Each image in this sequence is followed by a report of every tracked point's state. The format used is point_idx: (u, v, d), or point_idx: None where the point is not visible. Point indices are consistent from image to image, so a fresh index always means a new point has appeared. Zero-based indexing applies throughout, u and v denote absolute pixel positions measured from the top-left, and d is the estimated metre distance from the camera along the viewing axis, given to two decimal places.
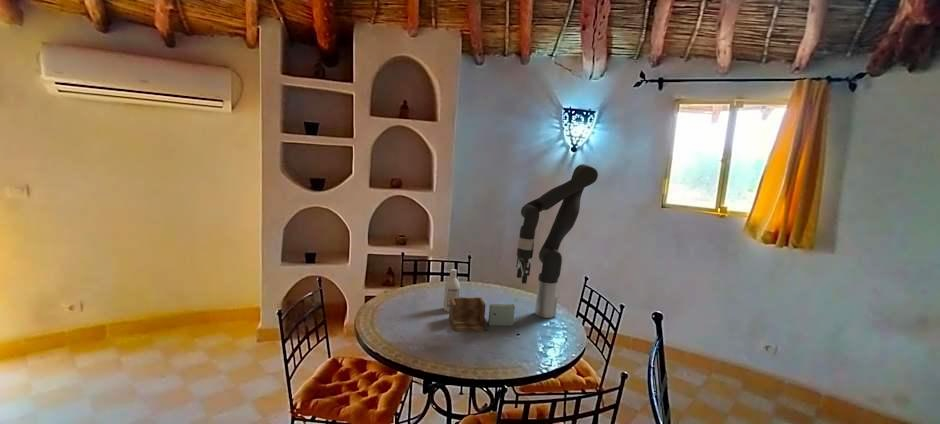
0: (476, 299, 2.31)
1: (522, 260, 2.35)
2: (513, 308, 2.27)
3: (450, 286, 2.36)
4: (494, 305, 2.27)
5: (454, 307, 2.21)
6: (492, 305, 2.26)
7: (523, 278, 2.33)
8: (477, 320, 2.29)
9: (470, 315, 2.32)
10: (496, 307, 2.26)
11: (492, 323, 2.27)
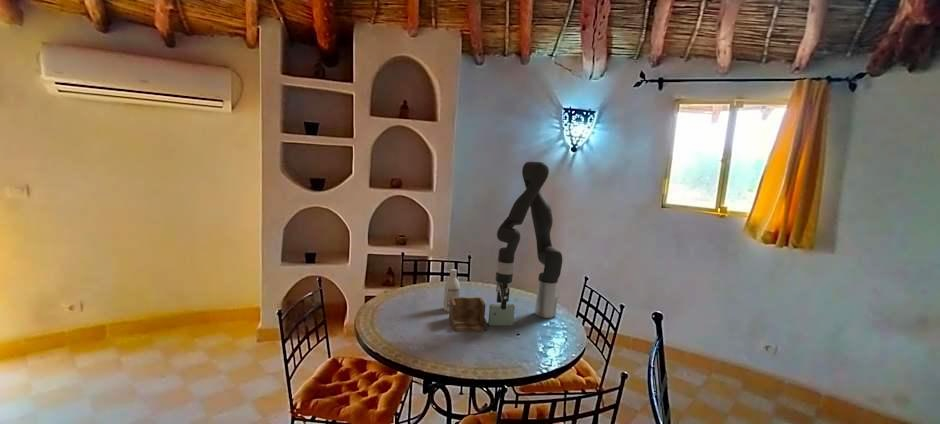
0: (476, 299, 2.31)
1: (501, 285, 2.24)
2: (513, 308, 2.27)
3: (450, 286, 2.36)
4: (494, 305, 2.27)
5: (454, 307, 2.21)
6: (492, 305, 2.26)
7: (502, 304, 2.22)
8: (477, 320, 2.29)
9: (470, 315, 2.32)
10: (496, 307, 2.26)
11: (492, 323, 2.27)
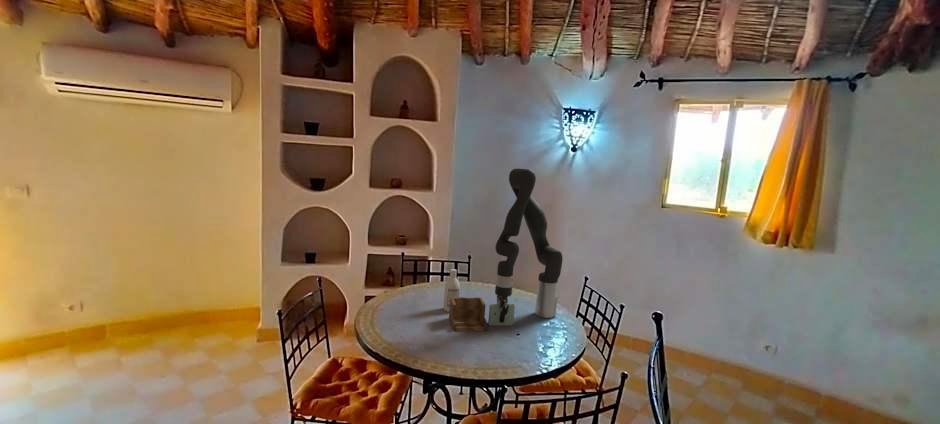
0: (476, 299, 2.31)
1: (501, 298, 2.25)
2: (513, 308, 2.27)
3: (450, 286, 2.36)
4: (494, 305, 2.27)
5: (454, 307, 2.21)
6: (492, 305, 2.26)
7: (501, 317, 2.26)
8: (477, 320, 2.29)
9: (470, 315, 2.32)
10: (496, 307, 2.26)
11: (492, 323, 2.27)
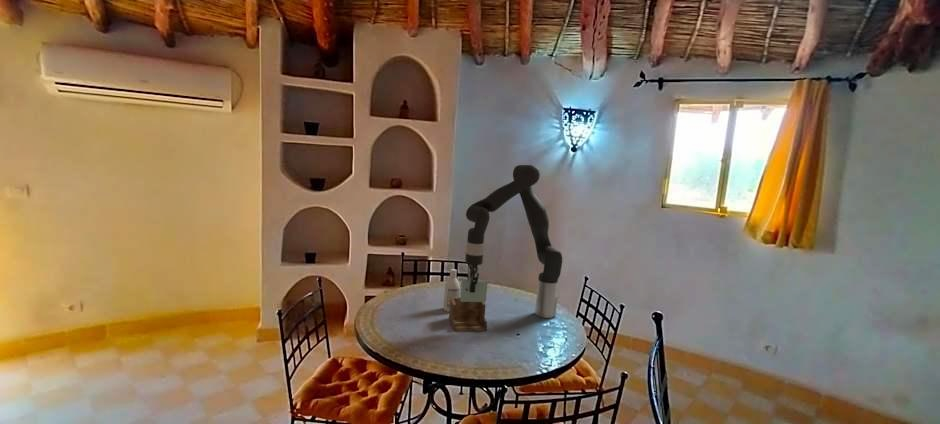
0: None
1: (471, 267, 2.15)
2: (486, 284, 2.18)
3: (450, 286, 2.36)
4: (466, 280, 2.17)
5: (454, 307, 2.21)
6: (464, 280, 2.17)
7: (471, 287, 2.16)
8: (477, 320, 2.29)
9: (470, 315, 2.32)
10: (468, 283, 2.17)
11: (464, 299, 2.18)
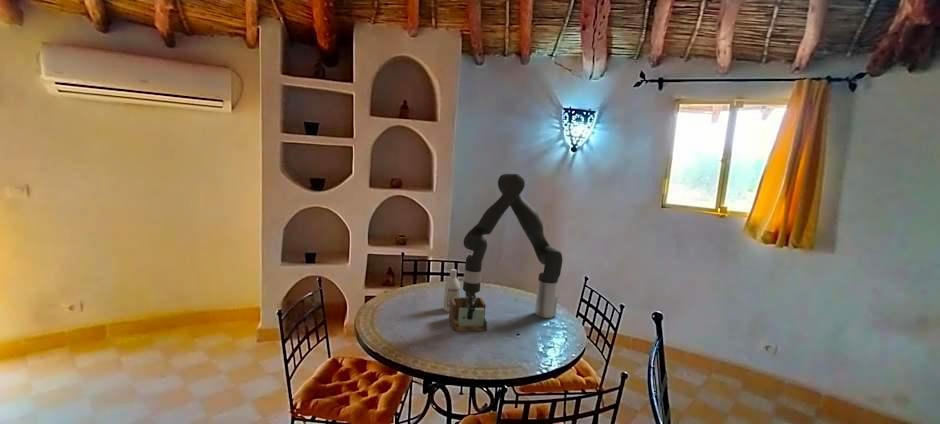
0: (476, 299, 2.31)
1: (469, 294, 2.17)
2: (483, 312, 2.20)
3: (450, 286, 2.36)
4: (463, 308, 2.19)
5: (454, 307, 2.21)
6: (461, 308, 2.19)
7: (468, 314, 2.18)
8: None
9: None
10: (466, 311, 2.19)
11: None
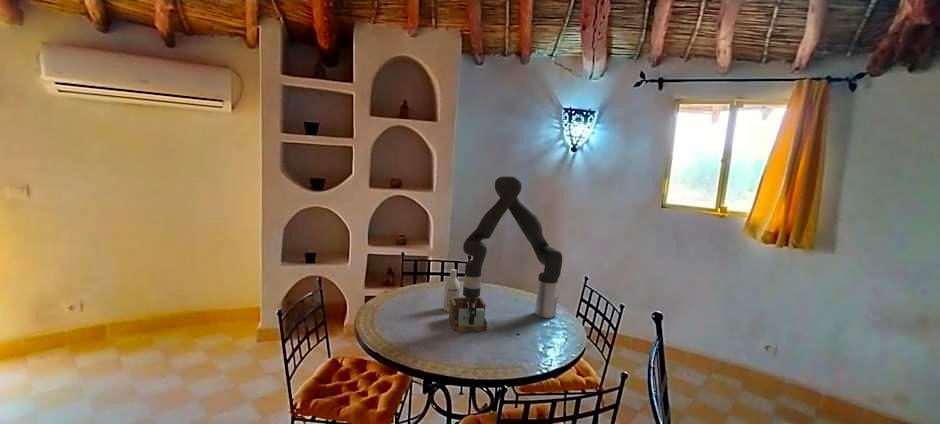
0: (476, 299, 2.31)
1: (469, 299, 2.18)
2: (483, 312, 2.20)
3: (450, 286, 2.36)
4: (463, 309, 2.19)
5: (454, 307, 2.21)
6: (461, 309, 2.19)
7: (470, 319, 2.16)
8: None
9: None
10: (466, 312, 2.18)
11: None
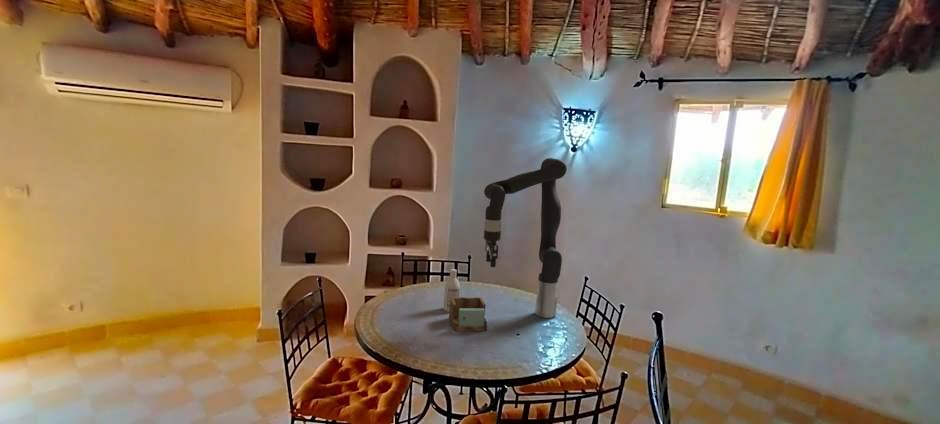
0: (476, 299, 2.31)
1: (490, 243, 2.24)
2: (483, 312, 2.20)
3: (450, 286, 2.36)
4: (463, 309, 2.19)
5: (454, 307, 2.21)
6: (461, 309, 2.19)
7: (491, 261, 2.22)
8: None
9: None
10: (466, 312, 2.18)
11: None
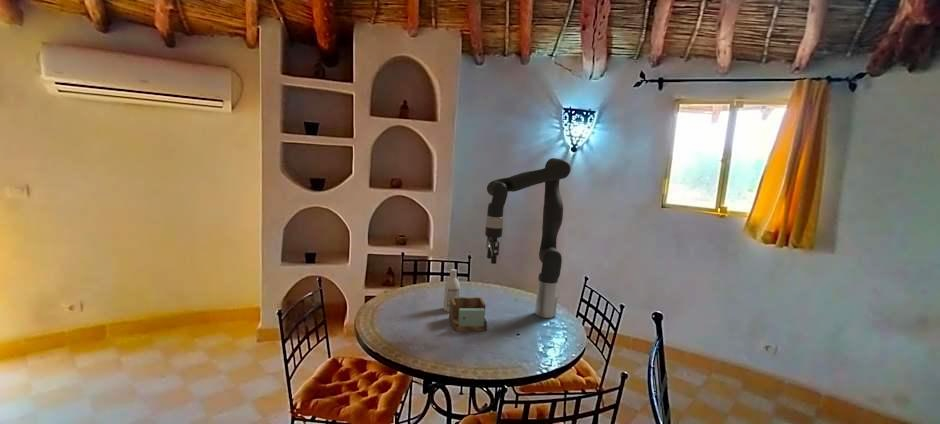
0: (476, 299, 2.31)
1: (491, 239, 2.25)
2: (483, 312, 2.20)
3: (450, 286, 2.36)
4: (463, 309, 2.19)
5: (454, 307, 2.21)
6: (461, 309, 2.19)
7: (492, 258, 2.22)
8: None
9: None
10: (466, 312, 2.18)
11: None
